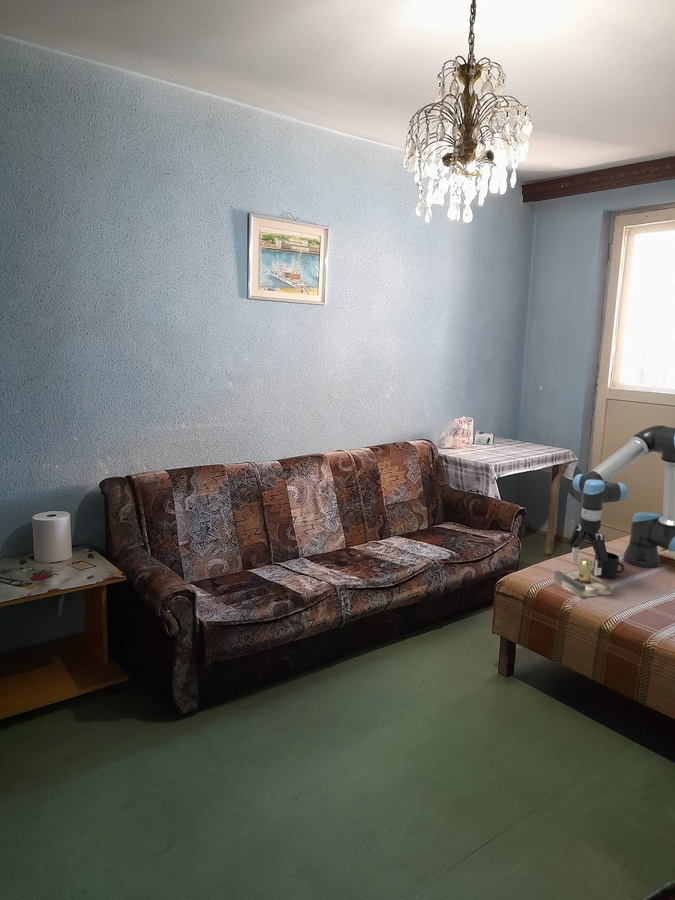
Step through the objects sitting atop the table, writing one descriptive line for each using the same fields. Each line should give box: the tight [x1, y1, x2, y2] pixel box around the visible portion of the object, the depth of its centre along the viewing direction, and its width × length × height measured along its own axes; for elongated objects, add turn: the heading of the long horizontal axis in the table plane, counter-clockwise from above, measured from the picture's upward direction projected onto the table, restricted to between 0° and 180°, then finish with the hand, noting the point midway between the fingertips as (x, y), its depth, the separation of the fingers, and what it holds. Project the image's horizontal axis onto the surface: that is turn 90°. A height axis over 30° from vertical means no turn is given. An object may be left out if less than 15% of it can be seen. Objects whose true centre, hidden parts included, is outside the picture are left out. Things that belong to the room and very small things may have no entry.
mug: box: [592, 551, 625, 580], centre depth 273 cm, size 9×12×9 cm
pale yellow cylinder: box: [578, 558, 593, 585], centre depth 259 cm, size 4×4×12 cm
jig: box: [553, 570, 614, 599], centre depth 259 cm, size 16×16×5 cm
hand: (585, 568), depth 258 cm, fingers open, 13 cm apart
